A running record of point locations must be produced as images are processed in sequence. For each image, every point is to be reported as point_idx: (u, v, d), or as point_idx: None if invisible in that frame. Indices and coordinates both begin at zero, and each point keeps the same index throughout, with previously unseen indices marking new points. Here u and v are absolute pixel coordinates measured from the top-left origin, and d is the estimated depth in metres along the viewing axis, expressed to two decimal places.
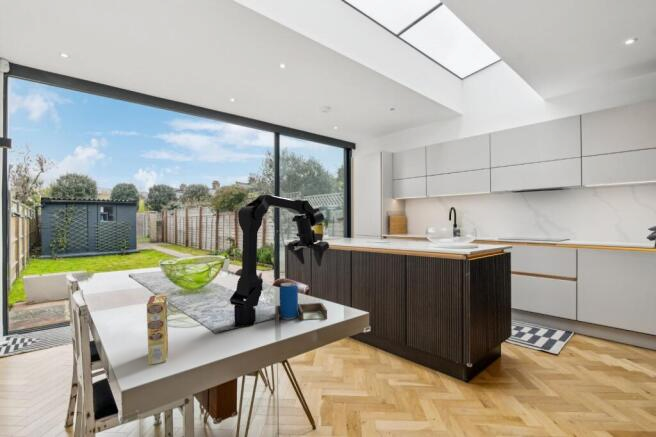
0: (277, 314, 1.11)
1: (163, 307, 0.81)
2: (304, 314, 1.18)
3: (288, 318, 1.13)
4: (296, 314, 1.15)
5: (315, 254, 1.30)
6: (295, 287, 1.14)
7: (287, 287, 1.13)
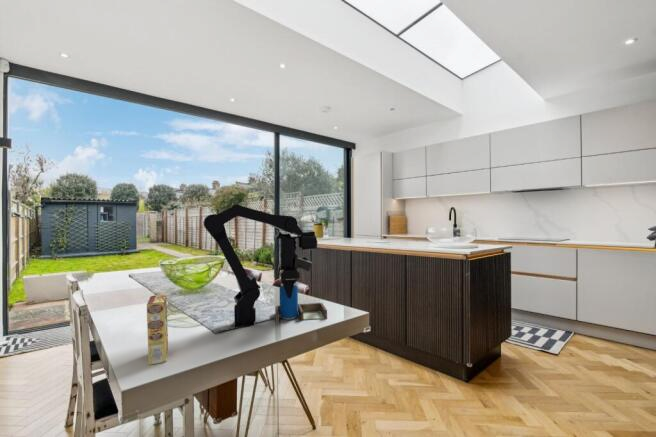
0: (277, 314, 1.11)
1: (163, 307, 0.81)
2: (304, 314, 1.18)
3: (288, 318, 1.13)
4: (296, 314, 1.15)
5: None
6: (295, 287, 1.14)
7: None
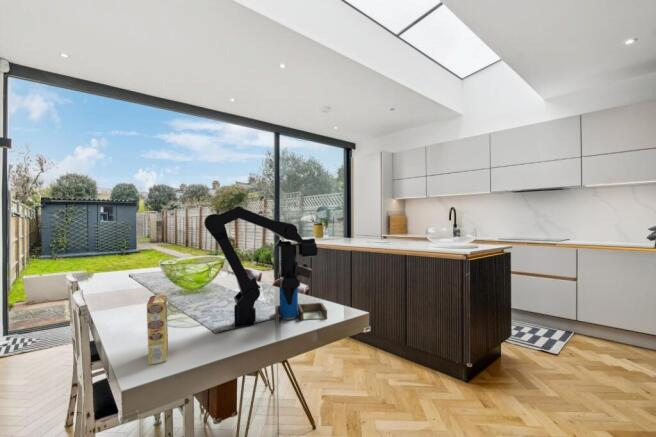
0: (277, 314, 1.11)
1: (163, 307, 0.81)
2: (304, 314, 1.18)
3: (288, 318, 1.13)
4: (296, 314, 1.15)
5: None
6: None
7: None
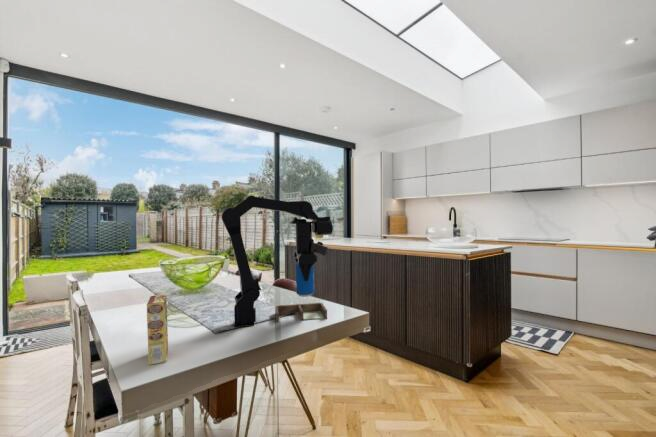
0: (277, 314, 1.11)
1: (163, 307, 0.81)
2: (304, 314, 1.18)
3: (305, 294, 1.14)
4: (313, 291, 1.16)
5: (298, 264, 1.12)
6: None
7: None
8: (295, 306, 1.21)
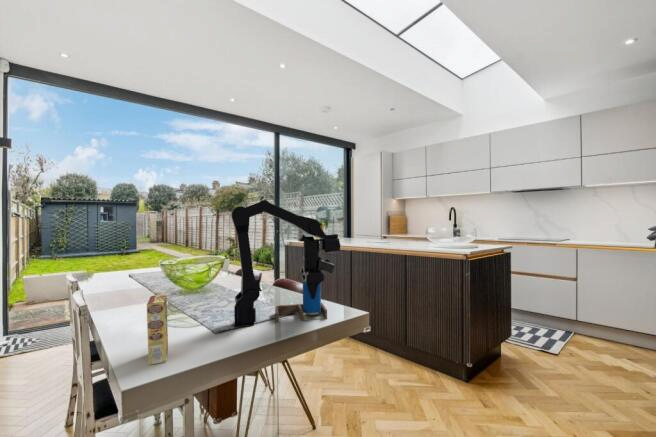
0: (277, 314, 1.11)
1: (163, 307, 0.81)
2: (304, 314, 1.18)
3: (312, 313, 1.14)
4: (319, 309, 1.16)
5: None
6: None
7: None
8: (295, 306, 1.21)
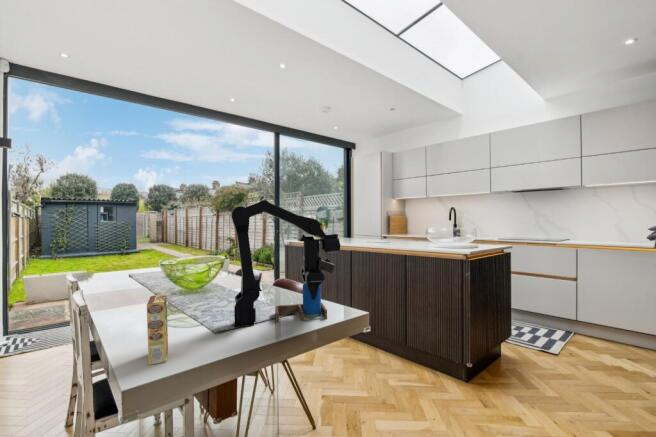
0: (277, 314, 1.11)
1: (163, 307, 0.81)
2: None
3: (312, 315, 1.14)
4: (319, 311, 1.16)
5: (306, 283, 1.11)
6: None
7: None
8: (295, 306, 1.21)
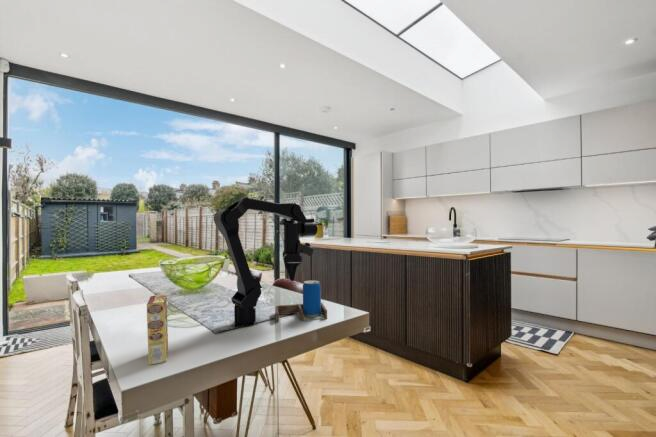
0: (277, 314, 1.11)
1: (163, 307, 0.81)
2: (304, 314, 1.18)
3: (312, 315, 1.14)
4: (319, 311, 1.16)
5: None
6: (318, 285, 1.16)
7: (311, 285, 1.15)
8: (295, 306, 1.21)
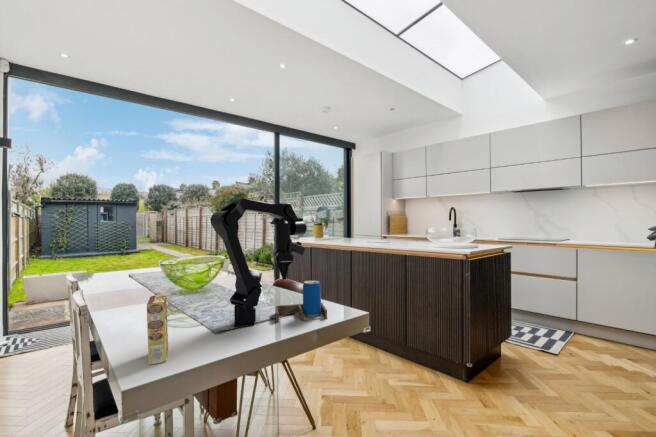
0: (277, 314, 1.11)
1: (163, 307, 0.81)
2: (304, 314, 1.18)
3: (312, 315, 1.14)
4: (319, 311, 1.16)
5: None
6: (318, 285, 1.16)
7: (311, 285, 1.15)
8: (295, 306, 1.21)
